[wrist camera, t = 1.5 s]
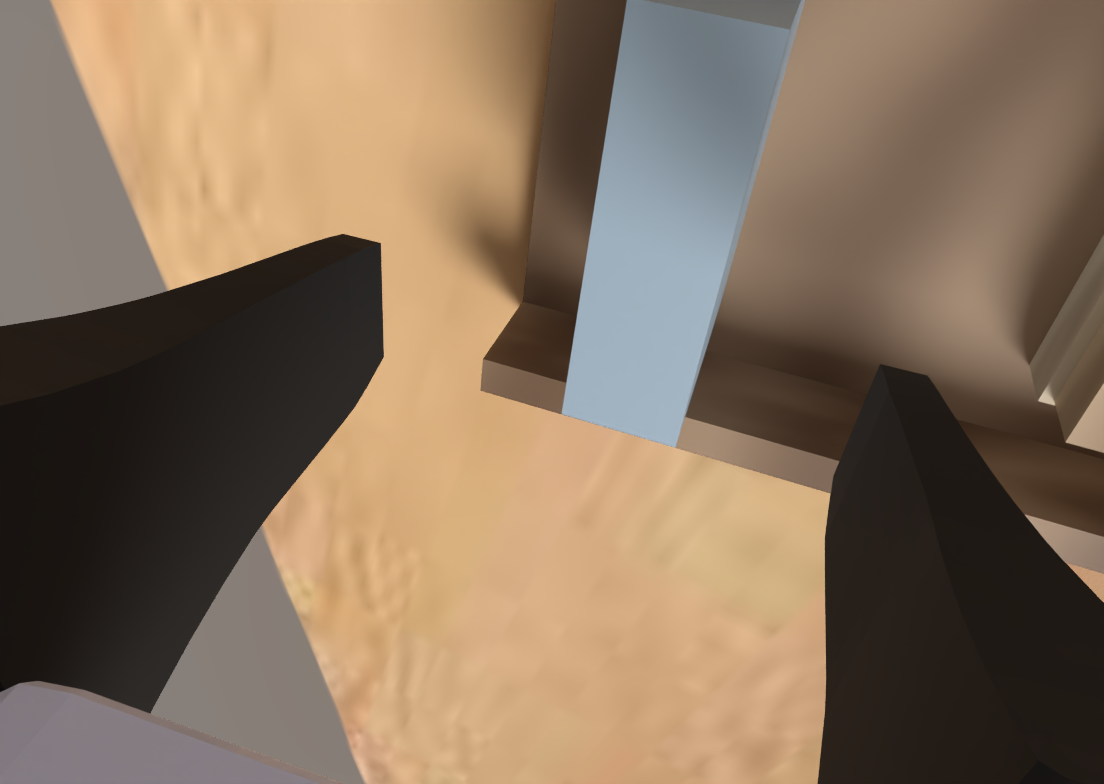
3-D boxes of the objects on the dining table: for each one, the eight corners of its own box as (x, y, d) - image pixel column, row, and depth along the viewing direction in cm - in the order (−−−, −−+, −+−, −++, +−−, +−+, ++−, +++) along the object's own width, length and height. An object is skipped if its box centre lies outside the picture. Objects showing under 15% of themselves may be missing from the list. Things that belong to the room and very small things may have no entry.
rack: (1668, -73, 14) (1886, -30, 11) (1196, 501, 22) (1246, 615, 19) (593, -236, 17) (530, -239, 14) (528, 317, 25) (480, 390, 22)
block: (817, -42, 17) (789, 30, 12) (720, 303, 22) (675, 447, 17) (697, -63, 17) (627, -3, 12) (629, 279, 22) (561, 413, 17)
